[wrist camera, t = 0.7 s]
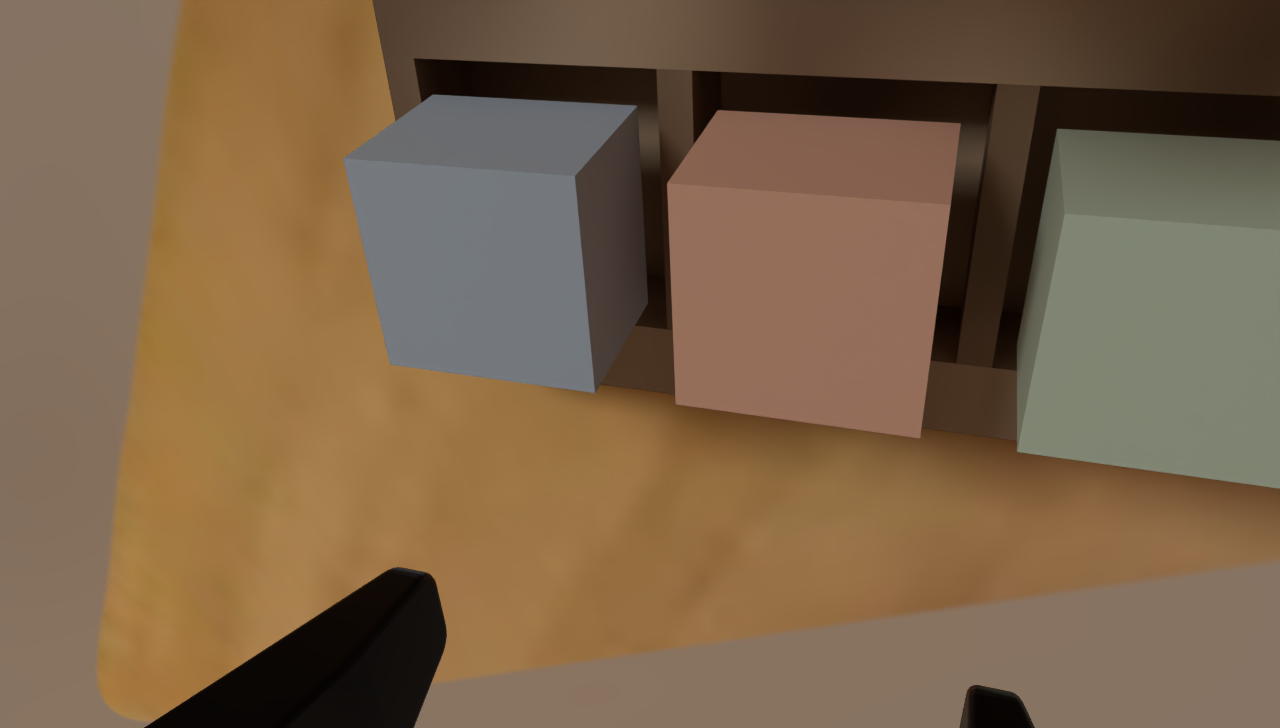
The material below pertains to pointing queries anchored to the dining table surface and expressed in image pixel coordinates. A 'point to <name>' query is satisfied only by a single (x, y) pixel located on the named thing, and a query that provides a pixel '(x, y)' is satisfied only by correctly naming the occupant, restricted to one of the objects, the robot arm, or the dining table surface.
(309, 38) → the dining table surface
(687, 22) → the brown wooden compartment tray
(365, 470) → the dining table surface
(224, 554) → the dining table surface
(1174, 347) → the button sage
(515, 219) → the button slate
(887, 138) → the button terracotta
